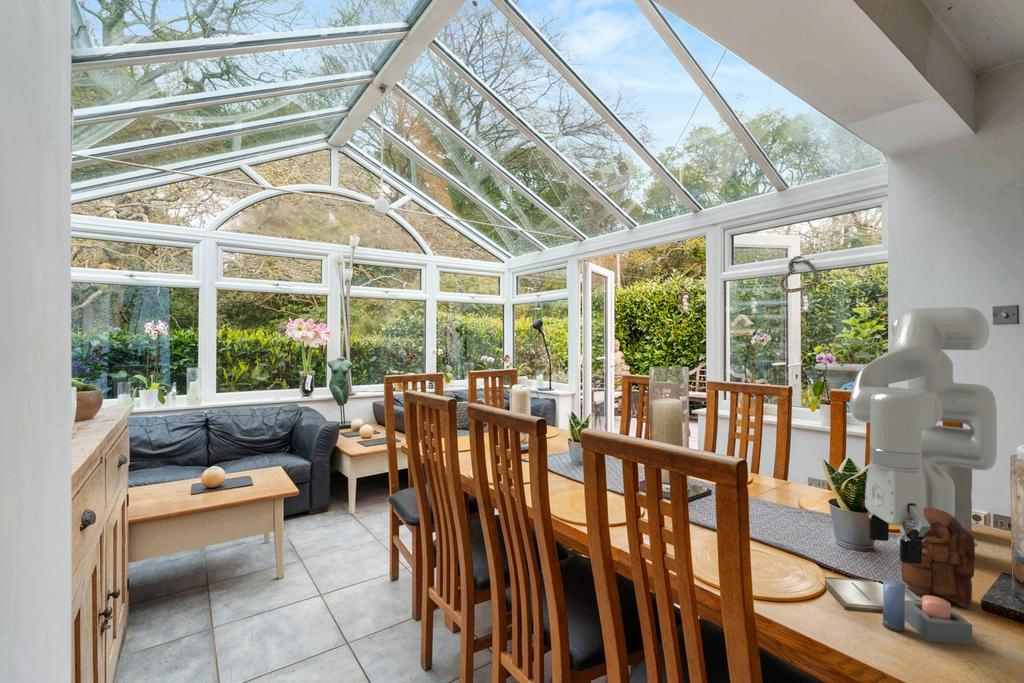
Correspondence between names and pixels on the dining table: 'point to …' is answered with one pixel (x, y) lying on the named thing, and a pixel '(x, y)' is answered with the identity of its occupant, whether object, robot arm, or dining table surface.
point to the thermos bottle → (962, 494)
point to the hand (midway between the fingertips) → (893, 550)
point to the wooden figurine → (943, 561)
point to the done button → (936, 607)
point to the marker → (894, 606)
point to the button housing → (938, 625)
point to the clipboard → (860, 593)
